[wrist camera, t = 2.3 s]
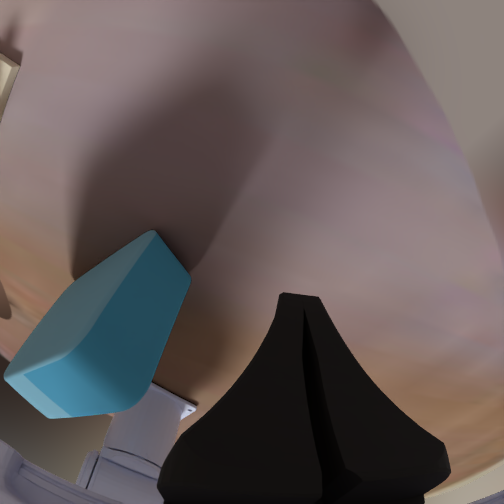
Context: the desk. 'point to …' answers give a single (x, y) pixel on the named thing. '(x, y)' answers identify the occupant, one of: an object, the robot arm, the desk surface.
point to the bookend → (6, 80)
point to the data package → (103, 334)
